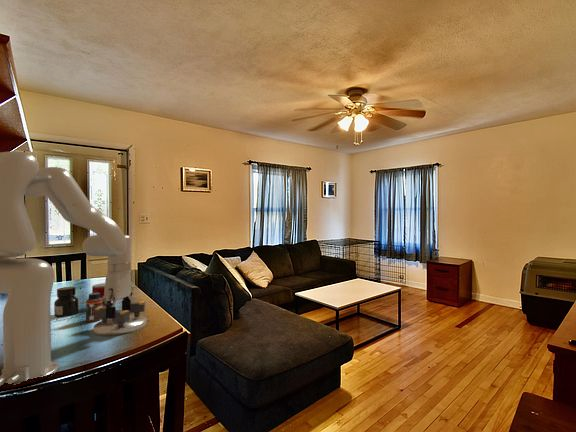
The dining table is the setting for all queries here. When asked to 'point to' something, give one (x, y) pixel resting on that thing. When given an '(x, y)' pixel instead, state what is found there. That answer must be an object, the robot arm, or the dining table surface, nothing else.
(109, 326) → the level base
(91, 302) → the supplement bottle
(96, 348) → the dining table surface
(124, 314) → the grey chuck jaw
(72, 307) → the ink bottle
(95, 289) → the canned food
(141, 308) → the grey and orange block
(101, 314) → the orange-tipped grey bar
